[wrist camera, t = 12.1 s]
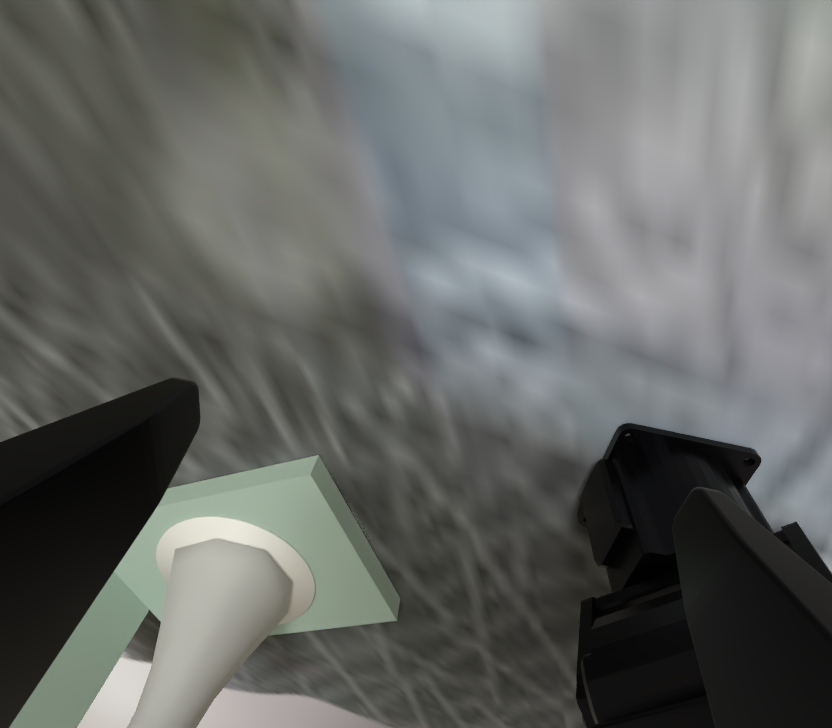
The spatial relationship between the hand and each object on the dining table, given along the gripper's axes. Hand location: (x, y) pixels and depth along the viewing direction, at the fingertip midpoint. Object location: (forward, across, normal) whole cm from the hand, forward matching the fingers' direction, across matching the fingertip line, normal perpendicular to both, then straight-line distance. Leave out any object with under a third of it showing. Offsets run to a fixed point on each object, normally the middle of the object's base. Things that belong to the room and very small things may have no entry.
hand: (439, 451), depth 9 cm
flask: (+12, +9, +22) cm, 26 cm away
